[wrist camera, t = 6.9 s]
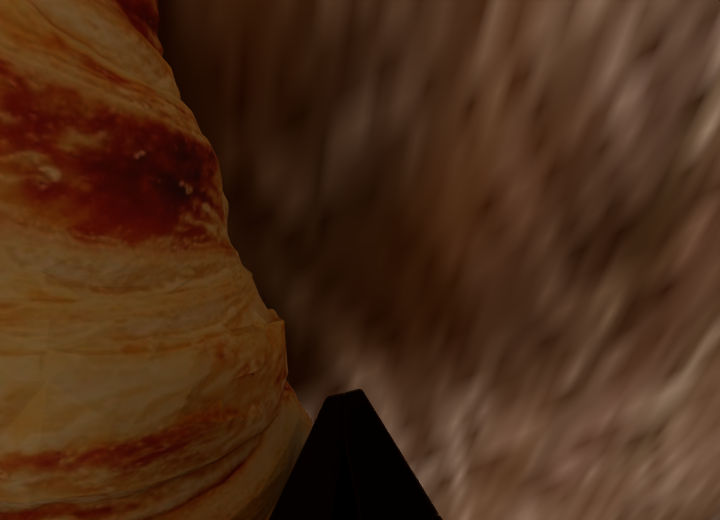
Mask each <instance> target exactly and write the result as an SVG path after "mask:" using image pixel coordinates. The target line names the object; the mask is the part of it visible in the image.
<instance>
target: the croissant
mask: <svg viewBox="0 0 720 520" xmlns="http://www.w3.org/2000/svg"><path fill="white" fill-rule="evenodd" d="M159 20H160V17H159V7H158V0H0V520H269V517H270V515H271V513H272V511H273V509H274V507H275V505H276V503H277V501H278V498H279V496H280V494H281V492H282V490H283V488H284V486H285V484H286V482H287V479H288V477H289V475H290V473H291V471H292V469H293V467H294V465H295V463H296V460H297V458H298V456H299V454H300V452H301V450H302V448H303V446H304V444H305V441H306V439H307V437H308V435H309V433H310V431H311V429H312V419H311V418H310V417H309V415H308V414H307V413H306V411H305V410H304V409H303V407H302V406H301V404H300V402H299V400H298V398H297V396H296V394H295V392H294V390H293V389H292V387H291V386H290V385H289V383H288V382H287V380H286V378H287V375H288V365H287V352H286V339H285V323H284V320H282V319H280V318H279V316H278V315H277V313H276V312H275V311H274V309H267V308H266V306H265V304H264V303H263V301H262V299H261V297H260V296H259V293H258V291H257V288H256V285H255V283H254V280H253V277H252V273H251V272H250V271H248V270H247V269H246V268H245V267H244V266H242V263H241V260H240V258H239V254H238V252H237V251H236V250H235V249H234V247H233V246H232V245H231V242H230V239H229V237H228V234H227V217H228V212H229V210H228V201H227V199H226V197H225V195H224V193H223V191H222V182H223V181H222V176H221V172H220V167H219V162H218V158H217V156H216V154H215V152H214V150H213V148H212V146H211V144H210V142H209V140H208V139H207V138H206V137H205V136H204V135H203V134H202V133H201V130H200V128H199V126H198V124H197V121H196V119H195V117H194V114H193V112H192V111H191V110H190V109H189V108H188V107H187V106H186V105H185V104H184V103H183V102H182V101H181V98H180V91H179V89H178V87H177V85H176V83H175V79H174V76H173V72H172V69H171V67H170V66H169V64H168V63H167V62H166V61H165V60H164V59H163V58H162V54H163V50H164V49H163V47H162V45H161V43H160V41H159V39H158V37H157V33H158V27H159Z"/></svg>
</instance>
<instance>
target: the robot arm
mask: <svg viewBox="0 0 720 520" xmlns="http://www.w3.org/2000/svg"><path fill="white" fill-rule="evenodd" d="M269 520H443V519H442V518H441V516H439V515H438V512H437V510H436V509H435V507H434V505H433V504H432V502H431V500H430V499H429V497H428V496H427V494H426V492H425V491H424V489H423V487H422V486H421V484H420V483H419V481H418V479H417V478H416V476H415V474H414V473H413V471H412V470H411V468H410V466H409V465H408V463H407V461H406V460H405V458H404V457H403V455H402V453H401V452H400V450H399V449H398V447H397V445H396V444H395V442H394V440H393V439H392V437H391V436H390V434H389V432H388V431H387V429H386V427H385V426H384V424H383V423H382V421H381V419H380V418H379V416H378V414H377V413H376V411H375V410H374V408H373V406H372V405H371V403H370V401H369V400H368V398H367V397H366V395H365V393H364V392H363V390H361V389H357V390H352V391H348V392H345V393H339V394H335V395H331V396H328V397H327V398H326V399H325V401H324V403H323V406H322V408H321V410H320V412H319V414H318V416H317V418H316V420H315V422H314V425H313V427H312V429H311V431H310V433H309V435H308V437H307V439H306V441H305V444H304V446H303V448H302V450H301V452H300V454H299V456H298V458H297V460H296V463H295V465H294V467H293V469H292V471H291V473H290V475H289V477H288V479H287V482H286V484H285V486H284V488H283V490H282V492H281V494H280V496H279V498H278V501H277V503H276V505H275V507H274V509H273V511H272V513H271V515H270V517H269Z"/></svg>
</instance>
